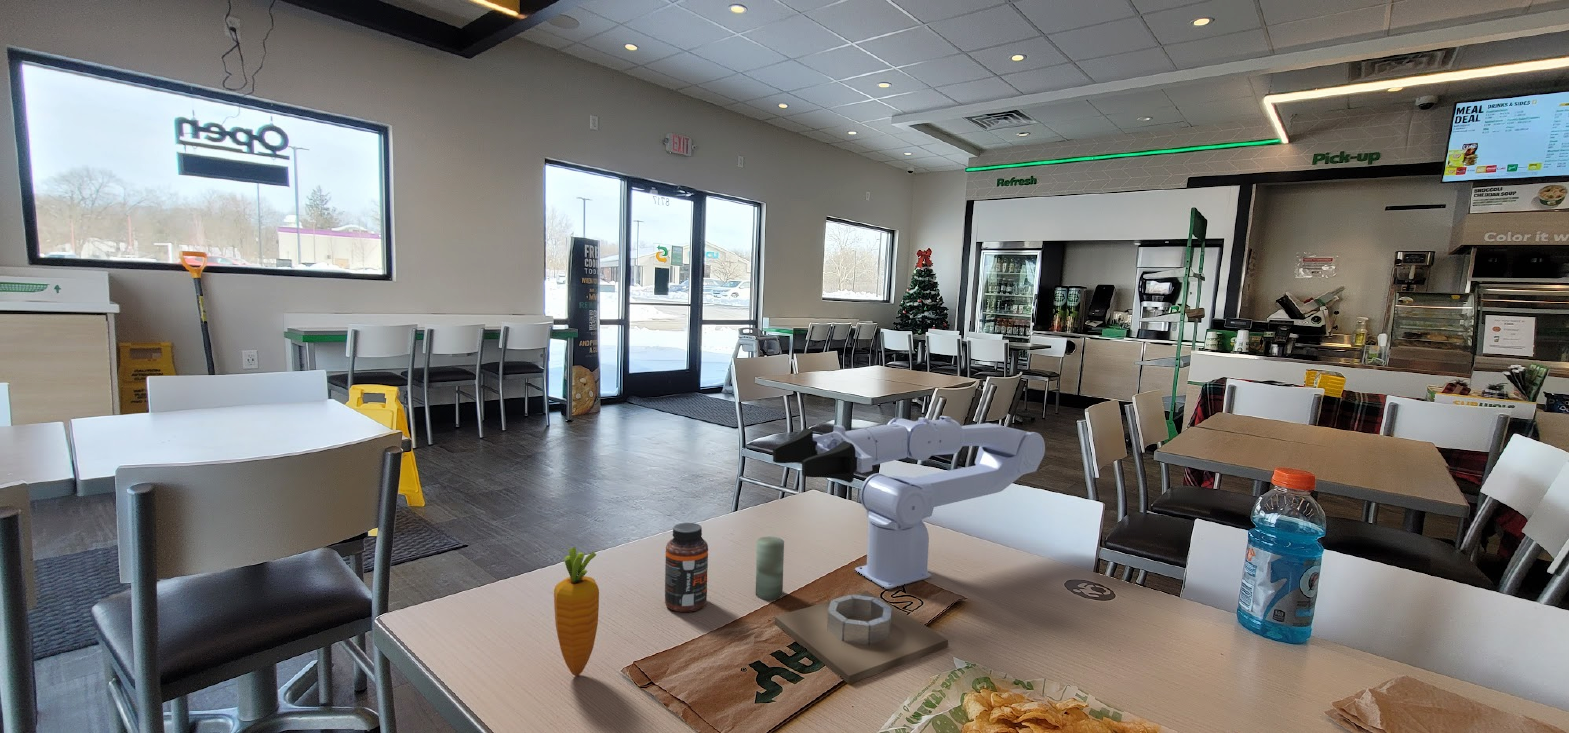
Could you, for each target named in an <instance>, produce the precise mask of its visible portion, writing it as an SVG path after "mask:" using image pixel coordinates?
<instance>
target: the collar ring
mask: <svg viewBox="0 0 1569 733" xmlns="http://www.w3.org/2000/svg"><path fill="white" fill-rule="evenodd" d="M851 595H852V596H851ZM830 601H831V600H830ZM850 616H858V617H866V618H871V619H873V620H871V621H868V622H866V621H859V620H851V619H847V618H846V617H850ZM890 627H891V607H890V606H888V605H887V604H885V603H883V602H882V601H880V600H878V599H877V598H874V597H867V596H859V595H853V594H848V595H843V596H840V597H837V598H832V601H831V602H830V606H829V609H828V619H827V629H828V631H829V632H831V633H832V634H833V635H835V636H836V637H837V638H839V639H840V640H841V641H843V640H844V642H850V643H858V644H865V645H868V644H870V645H871V644H874V643H877V642H880V641H883V640H886V639H888V638H889V636H890Z"/></svg>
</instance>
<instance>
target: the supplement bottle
mask: <svg viewBox="0 0 1569 733" xmlns="http://www.w3.org/2000/svg"><path fill="white" fill-rule="evenodd" d="M702 533H703V530H702V525H700V524H699V523H696V522H695V523H694V522H681V523H680V522H679V523H677V524H675V525H673V527H672V537H673V538H672V539H670V540H669V541H667V543H666V546H665V562H664V563H665V570H664V571H665V572H664V573H665V574H664V576H665V577H664V578H665V580H664V603H665V605H666V607H667V608H668V609H670V610H672V611H674V612H675V611H676V612H681V613H689V612H695V611H698V610H700V609H702V608H703V607H704V606H705V605H706V604H707V598H708V567H709V564H708V562H709V546H708V542H707V540H705V539H704V538H703V537H702V535H703V534H702Z"/></svg>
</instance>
